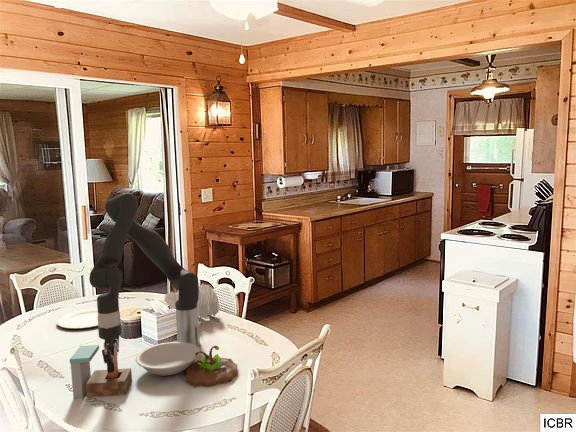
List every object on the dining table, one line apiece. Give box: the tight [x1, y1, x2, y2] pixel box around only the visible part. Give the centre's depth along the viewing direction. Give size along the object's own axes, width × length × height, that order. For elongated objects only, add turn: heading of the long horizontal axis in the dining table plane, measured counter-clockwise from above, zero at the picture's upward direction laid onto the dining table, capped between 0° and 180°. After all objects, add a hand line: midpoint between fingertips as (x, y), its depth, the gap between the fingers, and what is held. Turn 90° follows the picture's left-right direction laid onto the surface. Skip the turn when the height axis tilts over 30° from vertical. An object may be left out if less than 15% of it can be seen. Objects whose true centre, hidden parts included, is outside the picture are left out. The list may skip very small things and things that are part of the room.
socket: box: [86, 367, 133, 398], centre depth 168 cm, size 13×10×5 cm
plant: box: [184, 345, 238, 388], centre depth 178 cm, size 20×20×11 cm
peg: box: [107, 347, 119, 379], centre depth 168 cm, size 4×4×12 cm
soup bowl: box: [135, 341, 201, 376], centre depth 182 cm, size 24×24×7 cm
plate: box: [56, 307, 98, 330], centre depth 239 cm, size 29×29×2 cm
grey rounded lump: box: [164, 282, 221, 320], centre depth 235 cm, size 18×18×25 cm
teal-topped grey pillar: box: [69, 344, 100, 399], centre depth 167 cm, size 6×11×14 cm, turn 6°
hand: (112, 369), depth 168 cm, fingers closed on peg, 3 cm apart
